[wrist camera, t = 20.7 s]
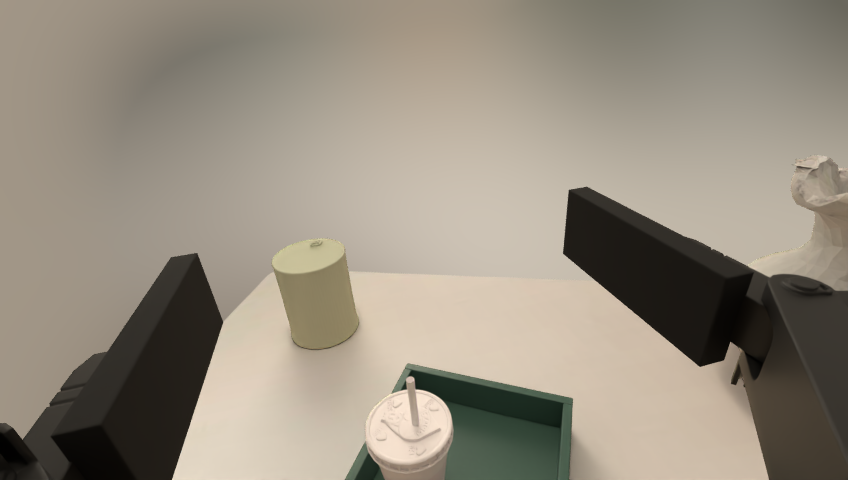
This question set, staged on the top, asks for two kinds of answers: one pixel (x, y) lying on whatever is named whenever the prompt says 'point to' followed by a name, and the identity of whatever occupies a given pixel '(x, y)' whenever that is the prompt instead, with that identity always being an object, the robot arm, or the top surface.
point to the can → (316, 292)
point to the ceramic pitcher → (817, 226)
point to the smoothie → (410, 435)
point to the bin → (492, 429)
